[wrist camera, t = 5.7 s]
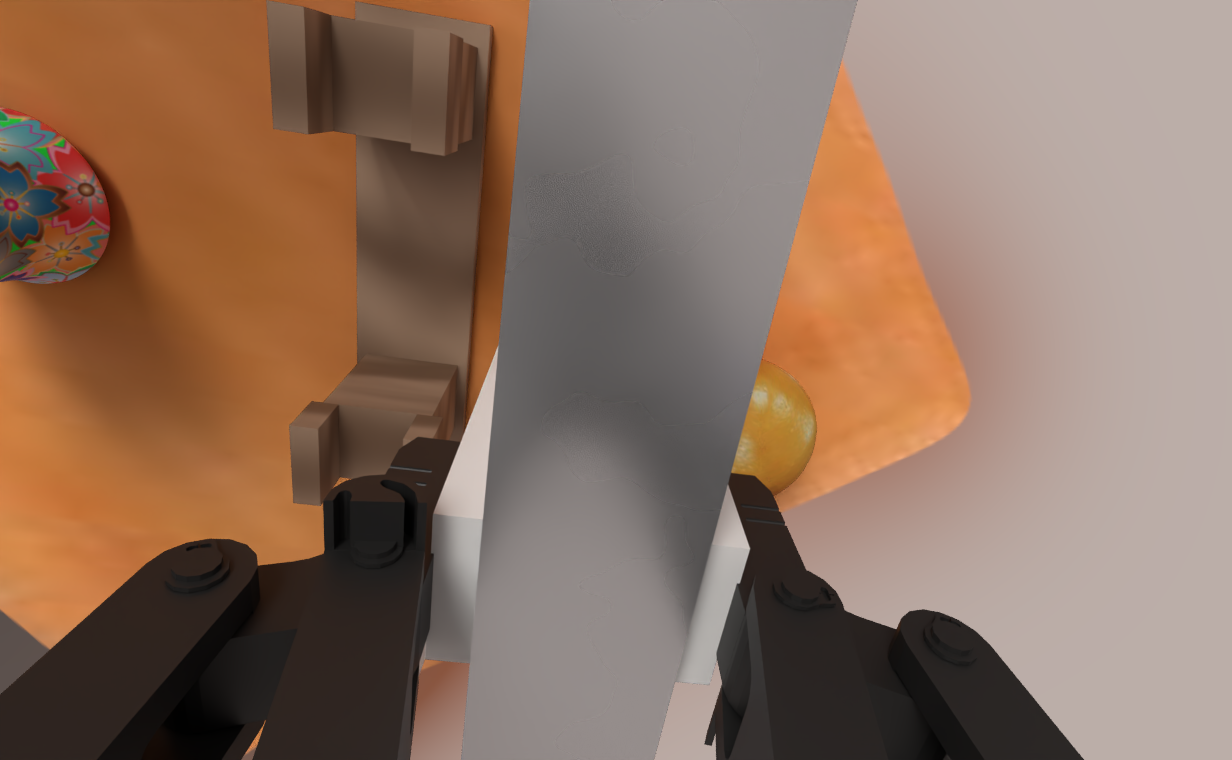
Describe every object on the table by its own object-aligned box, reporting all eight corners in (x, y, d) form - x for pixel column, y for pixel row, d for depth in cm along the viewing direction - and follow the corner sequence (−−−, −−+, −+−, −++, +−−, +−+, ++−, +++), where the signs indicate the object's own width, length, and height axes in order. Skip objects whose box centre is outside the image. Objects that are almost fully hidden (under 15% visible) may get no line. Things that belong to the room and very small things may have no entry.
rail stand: (361, 3, 29) (264, -35, 21) (492, 27, 30) (451, -1, 21) (362, 425, 38) (294, 520, 29) (464, 437, 39) (426, 534, 30)
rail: (598, -343, 8) (600, -779, 4) (821, -290, 9) (1032, -653, 4) (472, 829, 18) (434, 1049, 14) (579, 835, 18) (574, 1054, 14)
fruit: (731, 477, 40) (762, 562, 33) (624, 415, 38) (631, 491, 31) (816, 377, 38) (869, 444, 30) (706, 305, 36) (735, 358, 28)
